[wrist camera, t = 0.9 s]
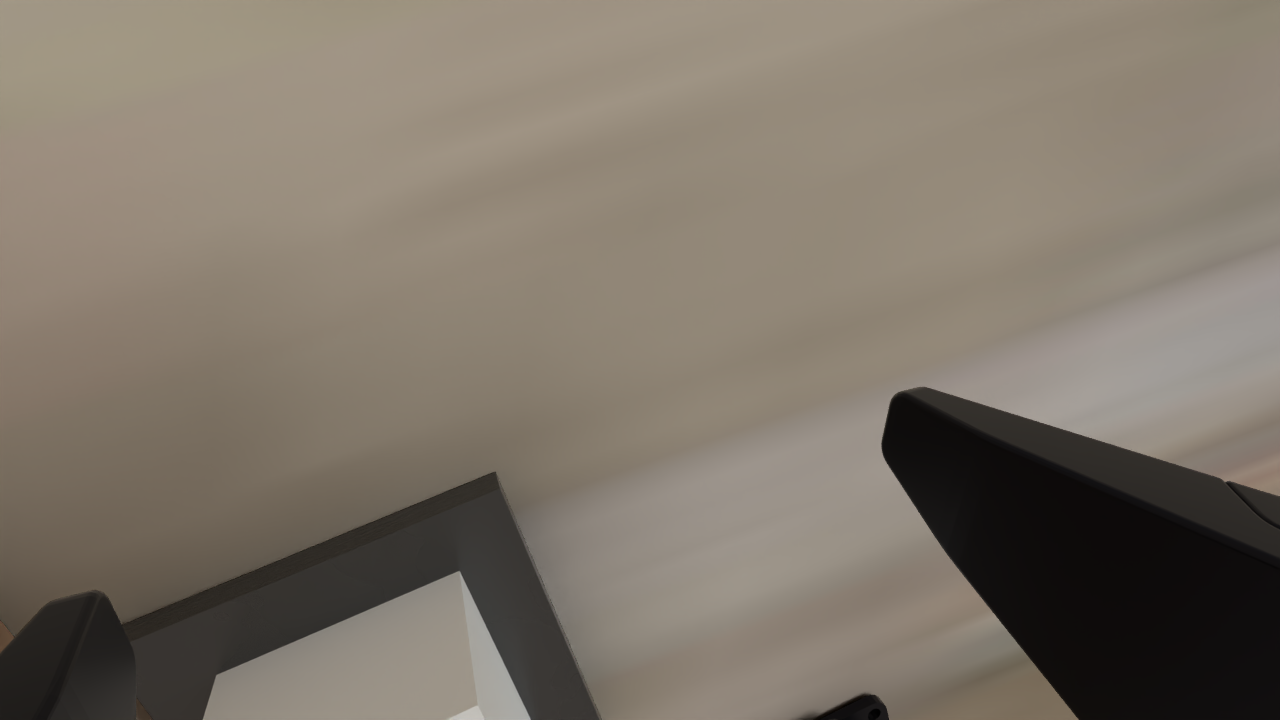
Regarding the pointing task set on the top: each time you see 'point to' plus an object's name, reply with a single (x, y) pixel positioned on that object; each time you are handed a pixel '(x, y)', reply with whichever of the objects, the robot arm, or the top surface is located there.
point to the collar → (380, 667)
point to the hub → (4, 636)
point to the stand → (369, 604)
